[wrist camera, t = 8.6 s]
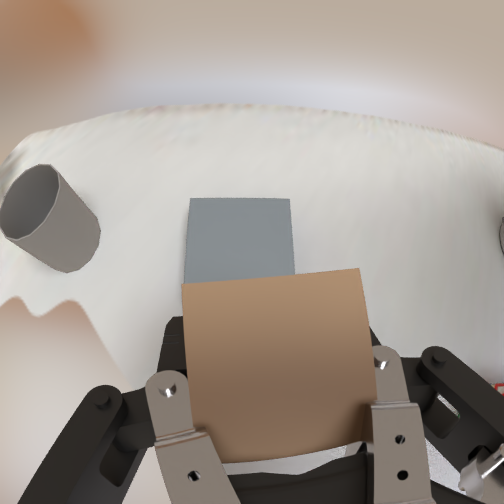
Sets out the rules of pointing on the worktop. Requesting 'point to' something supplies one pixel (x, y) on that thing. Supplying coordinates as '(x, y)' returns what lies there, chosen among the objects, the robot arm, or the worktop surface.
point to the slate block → (238, 239)
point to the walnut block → (279, 363)
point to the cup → (49, 219)
